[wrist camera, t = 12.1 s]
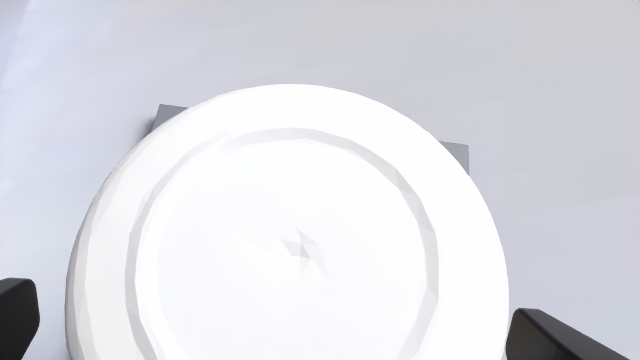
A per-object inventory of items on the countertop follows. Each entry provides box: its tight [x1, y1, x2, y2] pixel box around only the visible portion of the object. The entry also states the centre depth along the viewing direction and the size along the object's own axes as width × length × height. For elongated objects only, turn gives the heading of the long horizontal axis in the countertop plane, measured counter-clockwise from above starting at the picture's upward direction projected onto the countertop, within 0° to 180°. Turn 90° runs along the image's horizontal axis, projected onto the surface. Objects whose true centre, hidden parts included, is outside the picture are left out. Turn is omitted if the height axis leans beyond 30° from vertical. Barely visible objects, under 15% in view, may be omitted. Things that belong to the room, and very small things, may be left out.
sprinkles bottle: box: [65, 84, 509, 360], centre depth 11 cm, size 5×5×13 cm
